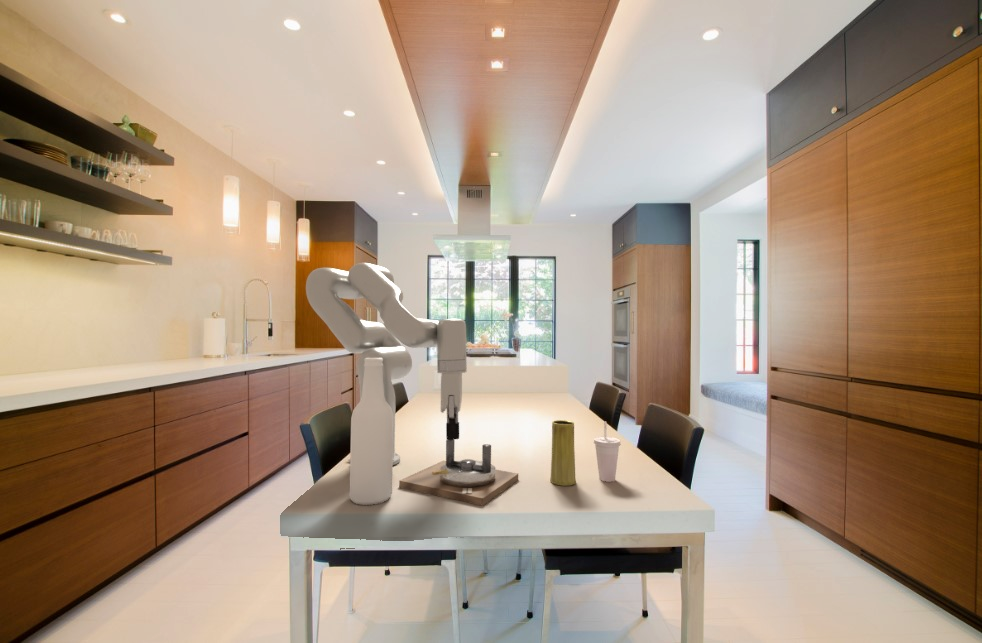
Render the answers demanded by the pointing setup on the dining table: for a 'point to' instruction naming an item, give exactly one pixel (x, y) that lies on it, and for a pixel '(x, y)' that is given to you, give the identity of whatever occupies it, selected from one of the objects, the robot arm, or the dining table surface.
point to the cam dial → (466, 468)
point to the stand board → (475, 495)
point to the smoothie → (607, 456)
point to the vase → (563, 453)
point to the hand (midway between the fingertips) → (452, 438)
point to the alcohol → (371, 440)
